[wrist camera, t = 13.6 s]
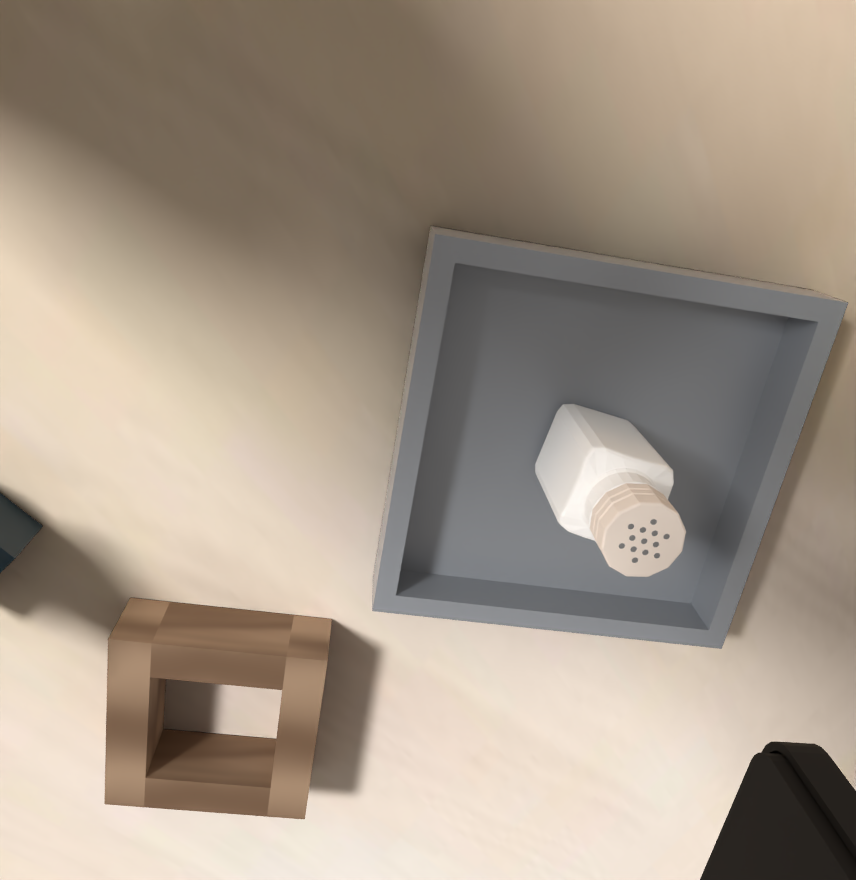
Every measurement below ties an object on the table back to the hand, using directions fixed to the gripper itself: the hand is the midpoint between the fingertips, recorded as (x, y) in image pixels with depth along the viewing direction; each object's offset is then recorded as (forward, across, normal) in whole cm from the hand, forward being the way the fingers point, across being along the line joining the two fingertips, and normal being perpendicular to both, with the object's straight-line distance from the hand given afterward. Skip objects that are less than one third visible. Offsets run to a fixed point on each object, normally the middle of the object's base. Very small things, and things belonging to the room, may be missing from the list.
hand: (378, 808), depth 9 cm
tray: (+27, -12, +5) cm, 30 cm away
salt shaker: (+27, -12, +5) cm, 30 cm away
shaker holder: (+27, +4, +22) cm, 36 cm away
